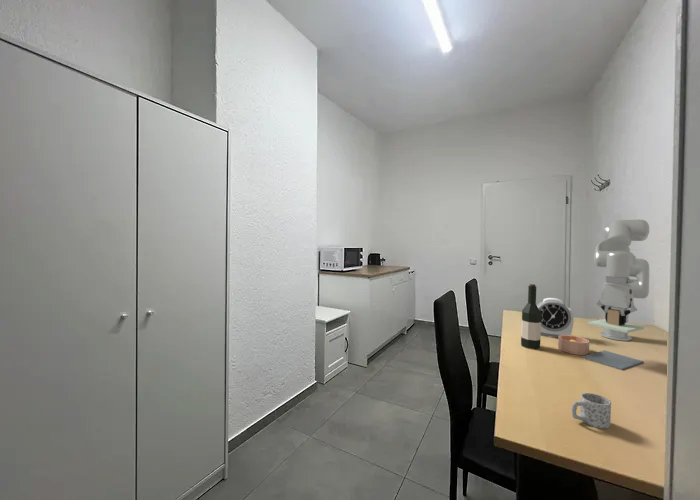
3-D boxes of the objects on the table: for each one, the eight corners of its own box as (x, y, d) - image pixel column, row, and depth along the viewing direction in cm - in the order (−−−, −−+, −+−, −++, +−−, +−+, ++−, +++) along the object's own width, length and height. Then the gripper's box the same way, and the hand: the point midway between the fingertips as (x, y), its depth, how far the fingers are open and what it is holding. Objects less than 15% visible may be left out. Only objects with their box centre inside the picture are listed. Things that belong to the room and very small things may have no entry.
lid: (604, 321, 142) (605, 305, 142) (643, 329, 130) (644, 312, 129) (587, 324, 136) (588, 308, 136) (627, 332, 123) (627, 315, 123)
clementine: (570, 346, 147) (571, 338, 147) (580, 349, 143) (580, 340, 143) (565, 347, 145) (566, 339, 145) (575, 350, 141) (575, 341, 141)
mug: (596, 415, 91) (597, 392, 90) (616, 429, 84) (617, 405, 84) (563, 415, 90) (564, 392, 90) (580, 429, 84) (581, 405, 83)
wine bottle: (544, 349, 145) (546, 285, 144) (526, 349, 145) (528, 285, 144) (534, 343, 153) (536, 283, 152) (517, 343, 153) (519, 283, 152)
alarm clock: (532, 335, 167) (534, 298, 166) (531, 331, 174) (533, 295, 174) (573, 340, 159) (574, 301, 158) (570, 336, 166) (572, 298, 165)
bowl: (566, 344, 152) (567, 333, 152) (594, 352, 142) (594, 340, 141) (552, 348, 147) (553, 336, 147) (579, 356, 136) (580, 344, 136)
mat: (604, 351, 143) (604, 350, 143) (643, 362, 131) (643, 361, 131) (582, 357, 135) (582, 356, 135) (621, 370, 123) (621, 368, 123)
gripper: (646, 283, 126) (644, 327, 127) (599, 278, 141) (597, 318, 142) (637, 283, 123) (635, 329, 124) (589, 278, 138) (588, 319, 139)
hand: (615, 322), depth 133 cm, fingers closed on lid, 4 cm apart
